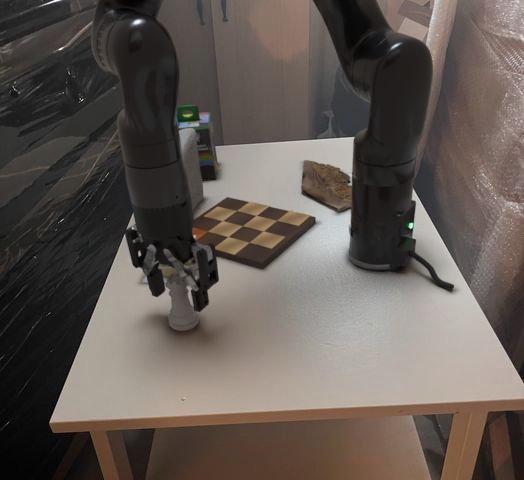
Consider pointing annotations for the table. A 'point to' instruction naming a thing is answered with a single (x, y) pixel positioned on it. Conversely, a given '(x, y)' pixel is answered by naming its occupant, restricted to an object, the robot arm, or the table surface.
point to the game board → (249, 230)
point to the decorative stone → (192, 164)
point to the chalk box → (201, 138)
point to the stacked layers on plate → (171, 271)
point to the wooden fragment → (327, 184)
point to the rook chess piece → (180, 304)
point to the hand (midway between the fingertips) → (179, 301)
